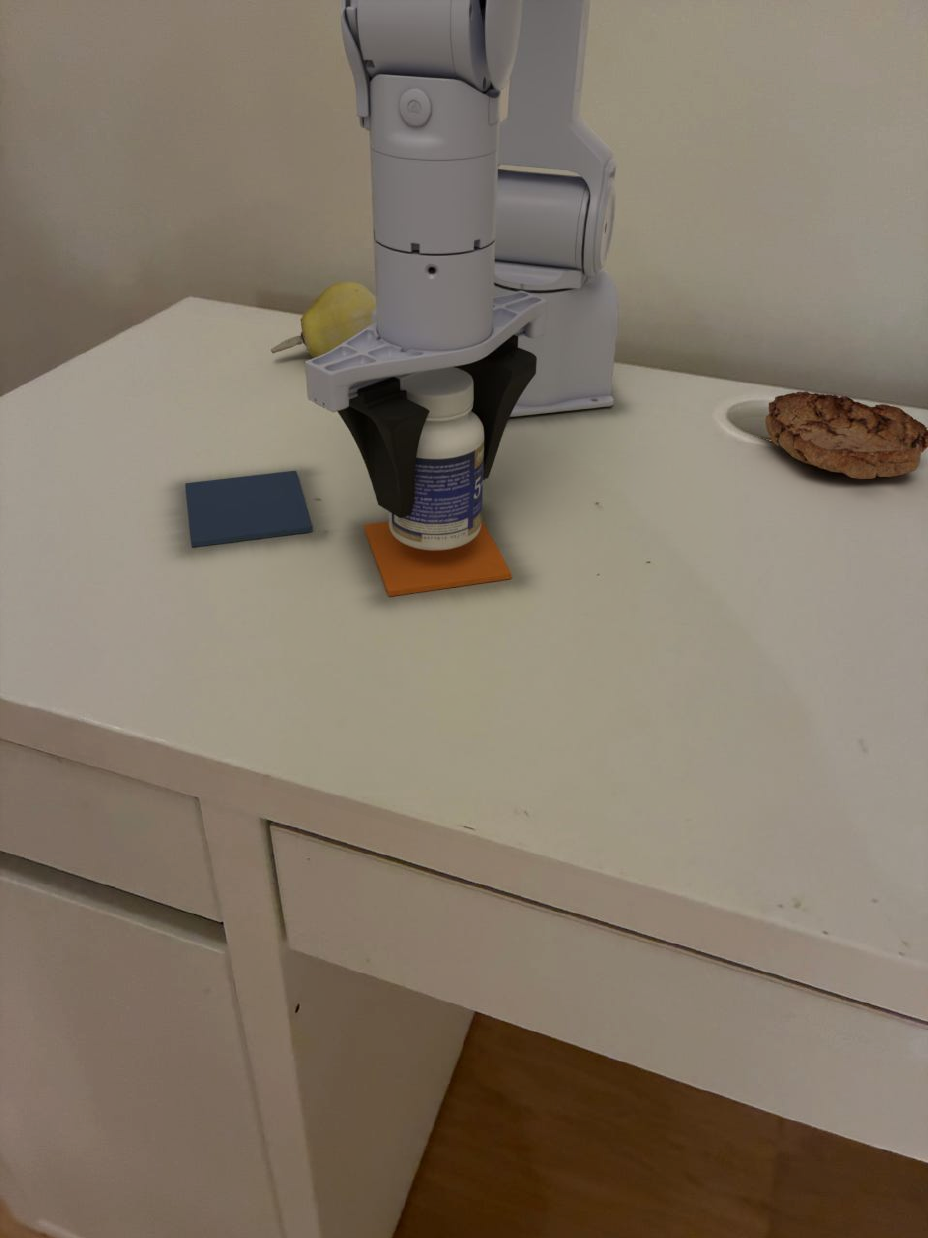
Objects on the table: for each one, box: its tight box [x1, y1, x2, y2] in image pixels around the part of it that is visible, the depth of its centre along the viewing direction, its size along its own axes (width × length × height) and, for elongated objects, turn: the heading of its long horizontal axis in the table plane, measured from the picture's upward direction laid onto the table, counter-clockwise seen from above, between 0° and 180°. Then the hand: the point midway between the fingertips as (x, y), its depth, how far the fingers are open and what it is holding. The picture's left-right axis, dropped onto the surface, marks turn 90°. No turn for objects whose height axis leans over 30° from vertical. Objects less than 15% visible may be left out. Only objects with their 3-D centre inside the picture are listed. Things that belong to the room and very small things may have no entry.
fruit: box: [270, 281, 377, 359], centre depth 78 cm, size 6×6×10 cm
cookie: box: [765, 390, 928, 480], centre depth 67 cm, size 10×11×3 cm
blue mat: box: [184, 470, 313, 548], centre depth 61 cm, size 7×7×1 cm
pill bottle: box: [387, 367, 484, 551], centre depth 53 cm, size 5×5×9 cm
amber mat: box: [363, 519, 512, 597], centre depth 57 cm, size 7×7×1 cm
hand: (435, 490), depth 55 cm, fingers closed on pill bottle, 5 cm apart
